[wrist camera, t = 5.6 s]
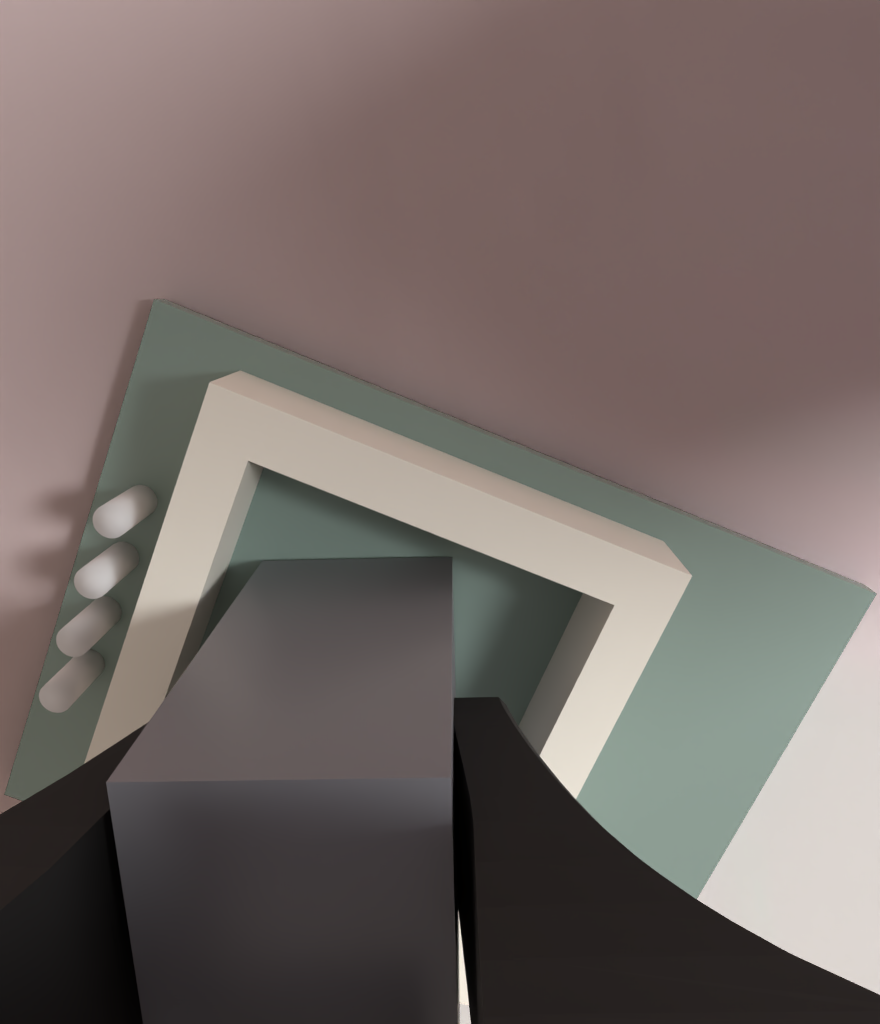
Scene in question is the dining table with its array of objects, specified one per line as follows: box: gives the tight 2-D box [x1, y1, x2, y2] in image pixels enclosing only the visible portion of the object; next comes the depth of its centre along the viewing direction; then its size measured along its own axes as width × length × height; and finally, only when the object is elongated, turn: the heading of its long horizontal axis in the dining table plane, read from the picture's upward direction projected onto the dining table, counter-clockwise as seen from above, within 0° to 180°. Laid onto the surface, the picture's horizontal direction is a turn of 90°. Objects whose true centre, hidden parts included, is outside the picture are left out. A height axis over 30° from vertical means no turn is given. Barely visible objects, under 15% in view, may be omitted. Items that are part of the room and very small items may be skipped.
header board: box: [4, 299, 876, 1006], centre depth 13 cm, size 12×9×3 cm
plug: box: [106, 557, 460, 1024], centre depth 10 cm, size 3×4×7 cm
